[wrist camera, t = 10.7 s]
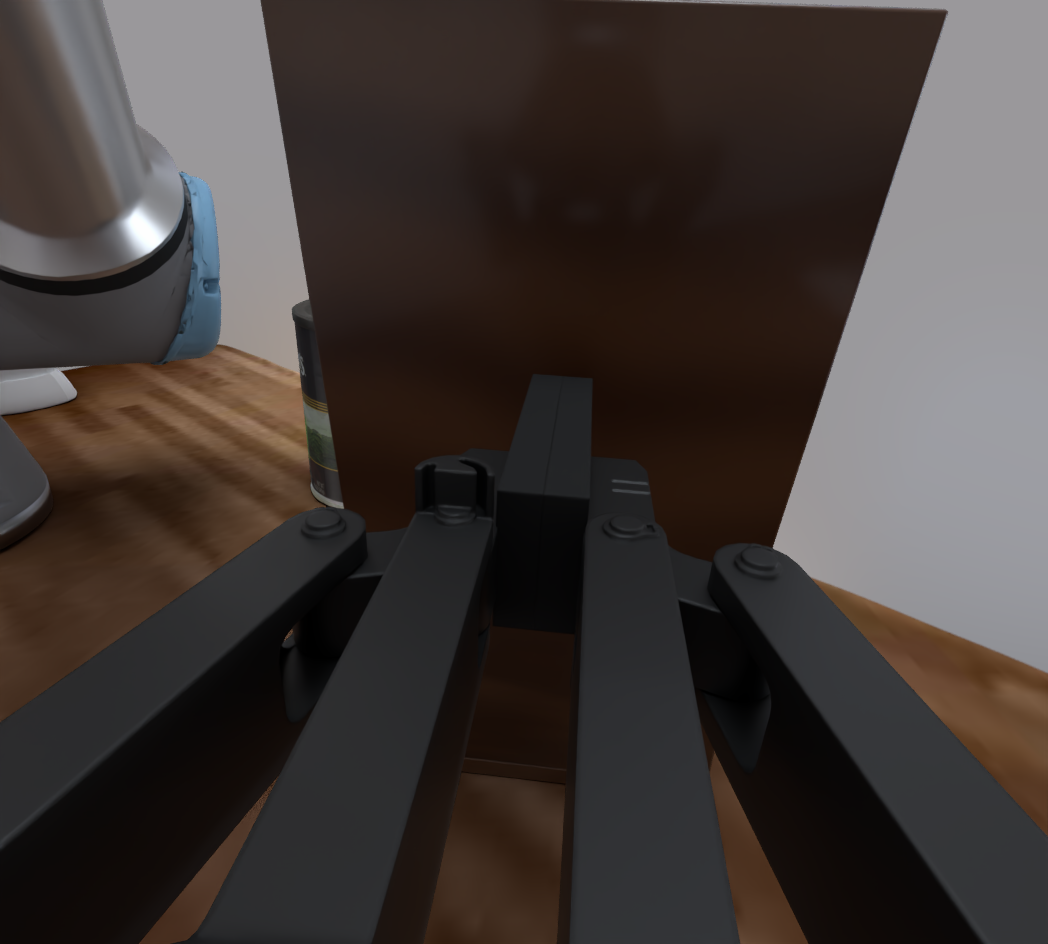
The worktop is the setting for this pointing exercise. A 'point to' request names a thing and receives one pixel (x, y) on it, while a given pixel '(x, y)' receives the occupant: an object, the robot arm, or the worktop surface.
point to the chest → (526, 707)
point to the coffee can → (316, 411)
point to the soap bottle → (33, 389)
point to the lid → (590, 228)
